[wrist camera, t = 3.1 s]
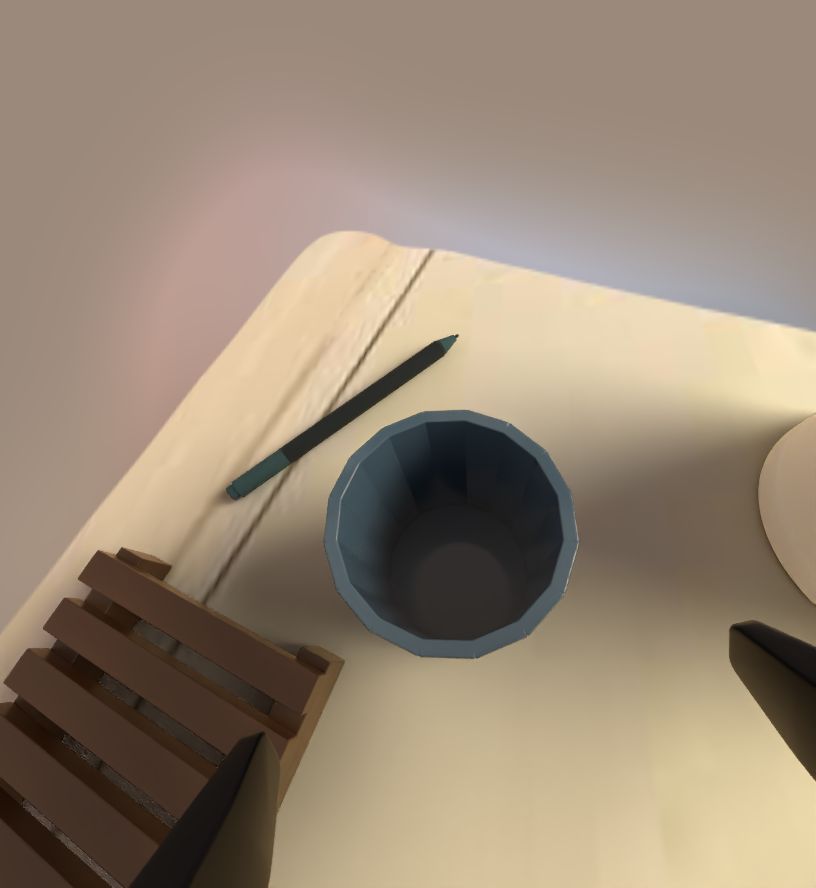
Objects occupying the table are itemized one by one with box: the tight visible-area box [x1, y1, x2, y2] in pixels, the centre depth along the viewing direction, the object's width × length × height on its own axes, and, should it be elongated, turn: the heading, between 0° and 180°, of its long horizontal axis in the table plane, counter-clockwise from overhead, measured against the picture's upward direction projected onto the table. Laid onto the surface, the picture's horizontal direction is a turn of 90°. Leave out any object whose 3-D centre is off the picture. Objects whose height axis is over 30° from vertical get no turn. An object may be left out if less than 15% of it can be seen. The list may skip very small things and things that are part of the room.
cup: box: [324, 410, 579, 659], centre depth 15 cm, size 7×7×9 cm
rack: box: [0, 547, 344, 888], centre depth 17 cm, size 11×12×3 cm
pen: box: [226, 334, 459, 500], centre depth 23 cm, size 1×16×1 cm, turn 126°
